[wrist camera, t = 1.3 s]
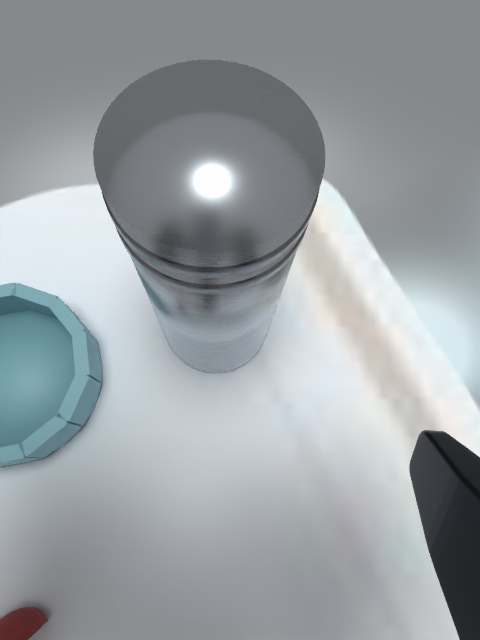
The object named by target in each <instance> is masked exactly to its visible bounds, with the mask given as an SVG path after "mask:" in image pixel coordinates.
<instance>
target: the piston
mask: <svg viewBox="0 0 480 640" xmlns="http://www.w3.org/2000/svg"><path fill="white" fill-rule="evenodd" d="M93 154H94V166H95V172H96V177H97V180H98V182H99V185H100V188H101V190H102V194H103V198H104V201H105V204H106V206H107V209H108V211H109V214H110V216H111V218H112V220H113V222H114V224H115V226H116V229H117V231H118V234H119V236H120V238H121V240H122V242H123V244H124V246H125V248H126V249H127V251H128V253H129V254H130V256H131V258H132V261H133V263H134V265H135V267H136V270H137V272H138V274H139V276H140V279H141V281H142V283H143V285H144V288H145V290H146V292H147V295H148V297H149V299H150V301H151V304H152V306H153V308H154V310H155V313H156V315H157V317H158V320H159V322H160V324H161V326H162V329H163V331H164V333H165V335H166V338H167V340H168V342H169V344H170V346H171V348H172V350H173V351H174V353H175V354H176V355H177V356H178V357H179V358H180V359H181V360H182V361H183V362H184V363H186V364H187V365H189V366H190V367H192V368H194V369H197V370H199V371H203V372H208V373H223V372H229V371H232V370H235V369H237V368H240V367H241V366H243V365H245V364H246V363H248V362H249V361H250V360H251V359H252V358H253V357H254V356H255V355H256V354H257V352H258V351H259V350H260V348H261V346H262V344H263V342H264V339H265V336H266V334H267V331H268V328H269V325H270V323H271V320H272V317H273V314H274V312H275V309H276V306H277V303H278V301H279V298H280V295H281V292H282V289H283V287H284V284H285V281H286V278H287V276H288V273H289V270H290V267H291V265H292V262H293V259H294V256H295V254H296V251H297V249H298V247H299V246H300V244H301V241H302V239H303V236H304V234H305V231H306V229H307V226H308V223H309V220H310V217H311V215H312V212H313V210H314V207H315V204H316V202H317V197H318V193H319V187H320V184H321V182H322V177H323V173H324V167H325V147H324V141H323V137H322V133H321V131H320V128H319V125H318V123H317V120H316V119H315V117H314V116H313V114H312V112H311V110H310V109H309V107H308V106H307V105H306V104H305V102H304V101H303V100H302V99H301V98H300V97H299V96H298V95H297V94H296V93H295V92H294V91H293V90H292V89H291V88H289V87H288V86H287V85H286V84H284V83H283V82H281V81H280V80H278V79H276V78H275V77H273V76H271V75H269V74H267V73H265V72H263V71H261V70H258V69H255V68H253V67H250V66H247V65H243V64H239V63H234V62H228V61H221V60H197V61H187V62H181V63H176V64H173V65H170V66H166V67H163V68H160V69H158V70H155V71H153V72H151V73H149V74H147V75H145V76H143V77H141V78H140V79H138V80H137V81H135V82H134V83H132V84H131V85H129V86H128V87H127V88H126V89H125V90H124V91H122V92H121V93H120V94H119V95H118V96H117V98H116V99H115V100H114V101H113V102H112V103H111V105H110V106H109V108H108V109H107V111H106V112H105V114H104V115H103V118H102V120H101V122H100V124H99V127H98V130H97V133H96V137H95V142H94V151H93Z"/></svg>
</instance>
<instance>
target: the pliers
mask: <svg viewBox="0 0 480 640" xmlns="http://www.w3.org/2000/svg"><path fill="white" fill-rule="evenodd" d="M46 622H47V619H46V617H45V616H44V614H43V613H42V612H41V611H40V610H38V609H35V608H22V609H18V610H15V611H13V612H11V613H9V614H7V615H6V616H4V617H3V618H2V619H0V640H28V639H29V638H30V637H31V636H32V635H33V634H34V633H35V632H36V631H38V630H39V629H40V628H41V627H42V626H43V625H44V624H45V623H46Z"/></svg>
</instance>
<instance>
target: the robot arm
mask: <svg viewBox="0 0 480 640" xmlns="http://www.w3.org/2000/svg"><path fill="white" fill-rule="evenodd" d="M410 476H411V480H412V484H413V489H414V493H415V497H416V501H417V505H418V509H419V513H420V518H421V522H422V526H423V530H424V534H425V538H426V542H427V546H428V549H429V553H430V556H431V559H432V562H433V565H434V568H435V571H436V574H437V577H438V579H439V582H440V585H441V588H442V591H443V593H444V596H445V599H446V602H447V605H448V608H449V610H450V613H451V616H452V619H453V622H454V625H455V627H456V630H457V633H458V636H459V639H460V640H480V457H479V456H477V455H476V454H475V453H473V452H472V451H470V450H469V449H468V448H466V447H465V446H464V445H462V444H461V443H460V442H458V441H457V440H456V439H454V438H453V437H451V436H450V435H449V434H447V433H446V432H443V431H432V430H424V431H422V432H421V433H420V435H419V437H418V440H417V443H416V446H415V449H414V451H413V454H412V457H411V460H410Z"/></svg>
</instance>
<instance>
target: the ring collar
mask: <svg viewBox="0 0 480 640" xmlns="http://www.w3.org/2000/svg"><path fill="white" fill-rule="evenodd" d="M101 383H102V362H101V356H100V352H99V349H98V343H97V342H96V339H95V338H94V337H93V336H92V334H91V333H90V332H89V330H88V329H87V328H86V327H85V326H84V325H83V323H82V322H81V321H80V320H79V318H78V317H77V316H76V315H75V314H74V312H73V311H72V310H71V309H70V308H69V307H68V306H67V305H66V304H65V303H64V302H63V301H62V300H61V299H60V298H58V297H57V296H55V295H52V294H49V293H46V292H43V291H40V290H37V289H34V288H31V287H28V286H25V285H22V284H19V283H17V284H16V283H10V284H4V285H0V467H4V466H9V465H14V464H21V463H26V462H30V461H34V460H38V459H43V457H46V456H48V455H49V454H50V453H52V452H54V451H56V450H57V449H59V448H60V447H61V446H63V445H64V444H66V443H67V442H68V441H69V440H70V439H71V438H72V437H73V436H75V435H76V434H77V432H78V431H79V430H80V429H81V428H82V427H83V425H84V424H85V422H86V421H87V419H88V418H89V417H90V415H91V413H92V411H93V409H94V407H95V405H96V402H97V399H98V397H99V393H100V388H101V385H102V384H101Z"/></svg>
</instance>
